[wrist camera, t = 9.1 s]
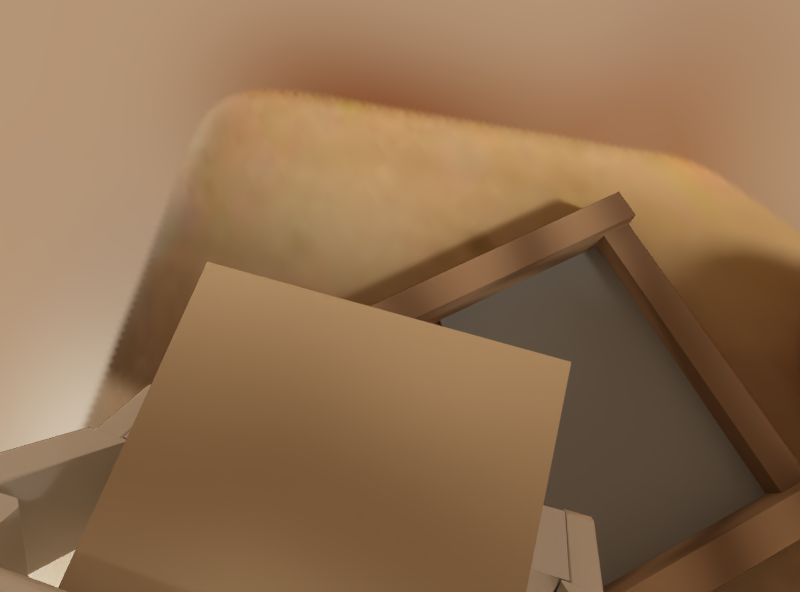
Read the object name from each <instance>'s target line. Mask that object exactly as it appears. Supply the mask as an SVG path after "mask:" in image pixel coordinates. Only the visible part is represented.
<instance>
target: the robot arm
mask: <svg viewBox="0 0 800 592" xmlns="http://www.w3.org/2000/svg"><path fill="white" fill-rule="evenodd" d="M150 386H151V384H150V385H148V386H146V387H145V388H144V389H143V390H142V391H140V392H139V393H138V394H137V395H136V396H135V397H133V398H132V399H131V400H130V401H129V402H127V403H126V404H125V405H124V406H123V407H121V408H120V409H119V410H118V411H117V412H115V413H114V414H113V415H112V416H111V417H110V418H108V419H107V420H106V421H105V422H104V423H102V424H101V425H100V426H99V427H98V428H96V429H93V428H90V427H87V428H84V429H80V430H77V431H74V432H70V433H66V434H63V435H59V436H56V437H52V438H49V439H45V440H42V441H38V442H35V443H32V444H28V445H24V446H21V447H18V448H14V449H11V450H7V451H4V452H0V592H68V591H65V590H62V589H59V588H57V587H54V586H51V585H48V584H46V583H43V582H40V581H37V580H35V579H32V578H29V576H28V574H30V573H32V572H34V571H36V570H38V569H39V568H41V567H43V566H45V565H47V564H49V563H51V562H53V561H55V560H56V559H58V558H60V557H62V556H64V555H66V554H68V553H70V552H71V551H73V550H75V549H76V548H77V546H78V544H79V542H80V539H81V537H82V535H83V533H84V531H85V528H86V526H87V524H88V522H89V520H90V517H91V515H92V513H93V511H94V509H95V507H96V504H97V502H98V500H99V498H100V496H101V493H102V491H103V489H104V487H105V485H106V482H107V480H108V478H109V476H110V474H111V471H112V469H113V467H114V465H115V463H116V461H117V458H118V456H119V454H120V452H121V450H122V447H123V445H124V443H125V441H126V439H127V436H128V434H129V432H130V430H131V428H132V425H133V423H134V421H135V419H136V417H137V414H138V412H139V410H140V408H141V406H142V404H143V401H144V399H145V397H146V395H147V393H148V390H149V388H150ZM526 592H603V585H602V578H601V570H600V562H599V555H598V547H597V539H596V532H595V524H594V520H593V519H592V517H590V516H587V515H583V514H580V513H576V512H573V511H569V510H566V509H563V510H562V509H561V508H557V507H554V506H551V505H547V504H543V509H542V514H541V519H540V524H539V529H538V534H537V539H536V544H535V549H534V555H533V560H532V565H531V570H530V575H529V580H528V585H527V590H526Z"/></svg>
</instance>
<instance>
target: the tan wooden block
mask: <svg viewBox="0 0 800 592" xmlns="http://www.w3.org/2000/svg"><path fill="white" fill-rule="evenodd" d="M570 366H571V362H570V361H566V360H562V359H559V358H555V357H552V356H548V355H544V354H541V353H537V352H533V351H530V350H526V349H522V348H519V347H515V346H512V345H508V344H504V343H501V342H497V341H493V340H490V339H486V338H483V337H479V336H475V335H472V334H468V333H464V332H461V331H457V330H454V329H450V328H446V327H443V326H439V325H435V324H432V323H428V322H425V321H421V320H417V319H414V318H410V317H406V316H403V315H399V314H396V313H392V312H388V311H385V310H381V309H377V308H374V307H370V306H367V305H363V304H359V303H356V302H352V301H348V300H345V299H341V298H338V297H334V296H330V295H327V294H323V293H319V292H316V291H312V290H309V289H305V288H301V287H298V286H294V285H290V284H287V283H283V282H280V281H276V280H272V279H269V278H265V277H261V276H258V275H254V274H251V273H247V272H243V271H240V270H236V269H232V268H229V267H225V266H222V265H218V264H214V263H211V262H207V263H206V265H205V268H204V270H203V272H202V274H201V276H200V279H199V281H198V283H197V285H196V287H195V290H194V292H193V294H192V296H191V298H190V301H189V303H188V305H187V307H186V309H185V311H184V314H183V316H182V318H181V320H180V322H179V325H178V327H177V329H176V331H175V333H174V336H173V338H172V340H171V342H170V344H169V347H168V349H167V351H166V353H165V355H164V357H163V360H162V362H161V364H160V366H159V368H158V371H157V373H156V375H155V377H154V379H153V382H152V384H151V386H150V388H149V390H148V393H147V395H146V397H145V399H144V401H143V404H142V406H141V408H140V410H139V412H138V414H137V417H136V419H135V421H134V423H133V425H132V428H131V430H130V432H129V434H128V436H127V439H126V441H125V443H124V445H123V447H122V450H121V452H120V454H119V456H118V458H117V461H116V463H115V465H114V467H113V469H112V471H111V474H110V476H109V478H108V480H107V482H106V485H105V487H104V489H103V491H102V493H101V496H100V498H99V500H98V502H97V504H96V507H95V509H94V511H93V513H92V515H91V517H90V520H89V522H88V524H87V526H86V528H85V531H84V533H83V535H82V537H81V539H80V542H79V544H78V546H77V548H76V550H75V553H74V555H73V557H72V559H71V561H70V564H69V566H68V568H67V570H66V572H65V574H64V577H63V579H62V581H61V583H60V585H59V589H62V590H65V591H68V592H526V590H527V585H528V580H529V575H530V570H531V565H532V560H533V555H534V549H535V544H536V539H537V534H538V529H539V524H540V519H541V514H542V509H543V504H544V499H545V494H546V488H547V483H548V478H549V473H550V468H551V463H552V458H553V453H554V448H555V443H556V438H557V433H558V427H559V422H560V417H561V412H562V407H563V402H564V397H565V392H566V387H567V382H568V377H569V372H570Z"/></svg>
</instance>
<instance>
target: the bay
mask: <svg viewBox="0 0 800 592" xmlns="http://www.w3.org/2000/svg"><path fill="white" fill-rule="evenodd" d="M634 216H635V213H634V212H633V211H632V209H631V208H630V206H629V205H628V204H627V202H626V201H625V200H624V198H623V197H622V195H621V194H620V193H619V192H617V193H615V194H613V195H611V196H609V197H606V198H604V199H602V200H600V201H598V202H596V203H593V204H591V205H589V206H587V207H585V208H583V209H580V210H578V211H576V212H574V213H572V214H569V215H567V216H565V217H563V218H561V219H559V220H556V221H554V222H552V223H550V224H548V225H546V226H543V227H541V228H539V229H537V230H535V231H532V232H530V233H528V234H526V235H524V236H522V237H519V238H517V239H515V240H513V241H511V242H508V243H506V244H504V245H502V246H500V247H498V248H495V249H493V250H491V251H489V252H487V253H485V254H482V255H480V256H478V257H476V258H474V259H471V260H469V261H467V262H465V263H463V264H461V265H458V266H456V267H454V268H452V269H450V270H448V271H445V272H443V273H441V274H439V275H437V276H434V277H432V278H430V279H428V280H426V281H424V282H421V283H419V284H417V285H415V286H413V287H411V288H408V289H406V290H404V291H402V292H400V293H397V294H395V295H393V296H391V297H389V298H387V299H384V300H382V301H380V302H378V303H376V304H373V305H371V306H370V307H374V308H377V309H381V310H385V311H388V312H392V313H396V314H399V315H403V316H406V317H410V318H414V319H417V320H421V321H425V322H428V323H432V324H436V323H438V322H440V324H441V326H443V327H446V328H450V329H454V330H457V331H461V332H464V333H468V334H472V335H475V336H479V337H483V338H486V339H490V340H493V341H497V342H501V343H504V344H508V345H512V346H515V347H519V348H522V349H526V350H530V351H533V352H537V353H541V354H544V355H548V356H552V357H555V358H559V359H562V360H566V361H570V362H571V366H570V372H569V377H568V382H567V387H566V392H565V397H564V402H563V407H562V412H561V417H560V422H559V427H558V433H557V438H556V443H555V448H554V453H553V458H552V463H551V468H550V473H549V478H548V483H547V488H546V494H545V499H544V504H547V505H551V506H554V507H557V508H561V509H562V510H563V509H566V510H569V511H573V512H576V513H580V514H583V515H587V516H590V517H592V519H593V520H594V524H595V532H596V539H597V547H598V555H599V562H600V570H601V578H602V585H603V592H712V591H713V590H715V589H717V588H718V587H720V586H722V585H724V584H725V583H727V582H729V581H730V580H732V579H734V578H735V577H737V576H739V575H740V574H742V573H744V572H746V571H747V570H749V569H751V568H752V567H754V566H756V565H757V564H759V563H761V562H762V561H764V560H766V559H767V558H769V557H771V556H773V555H774V554H776V553H778V552H779V551H781V550H783V549H784V548H786V547H788V546H789V545H791V544H793V543H795V542H796V541H798V540H800V464H799V462H798V461H797V460H796V458H795V457H794V455H793V454H792V453H791V451H790V450H789V448H788V447H787V446H786V444H785V443H784V441H783V440H782V439H781V437H780V436H779V434H778V433H777V432H776V430H775V429H774V427H773V426H772V425H771V423H770V422H769V420H768V419H767V418H766V416H765V415H764V413H763V412H762V411H761V409H760V408H759V406H758V405H757V404H756V402H755V401H754V399H753V398H752V396H751V395H750V394H749V392H748V391H747V389H746V388H745V387H744V385H743V384H742V382H741V381H740V380H739V378H738V377H737V375H736V374H735V373H734V371H733V370H732V368H731V367H730V366H729V364H728V363H727V361H726V360H725V359H724V357H723V356H722V354H721V353H720V352H719V350H718V349H717V347H716V346H715V345H714V343H713V342H712V340H711V339H710V338H709V336H708V335H707V333H706V332H705V331H704V329H703V328H702V326H701V325H700V324H699V322H698V321H697V319H696V318H695V317H694V315H693V314H692V312H691V311H690V310H689V308H688V307H687V305H686V304H685V303H684V301H683V300H682V298H681V297H680V296H679V294H678V293H677V291H676V290H675V289H674V287H673V286H672V284H671V283H670V282H669V280H668V279H667V277H666V276H665V275H664V273H663V272H662V270H661V269H660V268H659V266H658V265H657V263H656V262H655V261H654V259H653V258H652V256H651V255H650V254H649V252H648V251H647V249H646V248H645V247H644V245H643V244H642V242H641V241H640V240H639V238H638V237H637V235H636V234H635V233H634V231H633V230H632V228H631V227H630V226H629V223H630V222H631V220H632V219H633V218H634Z"/></svg>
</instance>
